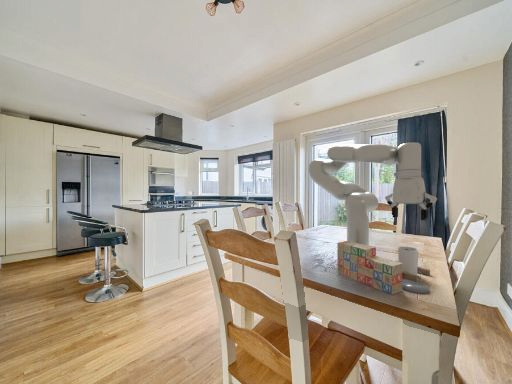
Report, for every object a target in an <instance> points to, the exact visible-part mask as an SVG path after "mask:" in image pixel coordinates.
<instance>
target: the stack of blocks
mask: <svg viewBox="0 0 512 384" xmlns="http://www.w3.org/2000/svg"><path fill="white" fill-rule="evenodd" d="M336 249H337V251H336V253H337V266H336V267H337V273H338V274H340V275H343V276H346V277H348V278H349V279H353V280H355V281H357V282H360V283H362V284H365V285H368V286H369V287H372V288H374V289H377V290H379V291H382V292H383V293H386V294H389V295H391V296H392V295H395V294H397V293H400V292H402V291H403V289H402V279H403V278H402V272H403V263H400V262H396V261H397V260H393V259H389V258H386V257H382V256H377V251H376V250H377V248H376V247H375V246H371V245H369V246H367V245H363V244H359V243H354V242H350V241H347V240H344V241H338V242H337V247H336Z"/></svg>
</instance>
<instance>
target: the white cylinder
mask: <svg viewBox="0 0 512 384" xmlns="http://www.w3.org/2000/svg"><path fill="white" fill-rule="evenodd" d="M419 251H420V250H419V249H418V248H415V247H412V246H411V247H410V246H406V245H405V246H404V245H403V246H398V247H397V253H398V255H397V256H398V261H399V262H400V263H403V272H406V273H409V274H413V275H416V276H418V272H417V267H419V266H418V265H419V264H418V263H419Z"/></svg>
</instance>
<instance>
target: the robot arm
mask: <svg viewBox="0 0 512 384" xmlns="http://www.w3.org/2000/svg"><path fill="white" fill-rule="evenodd" d="M326 152H327V153H326V154H327V158H329V159H325V158H316V159H313V160H312V161H310V162H309V164H308V173H309V176H310V178H311V180H312V181H313V182H314V183H315V184H317V186H319V187H320V188H322V189H323V190H324V191H325V192H327V193H329V194H330V195H331V196H332V197H333V198H335V199H337V200H338V201H339V200H340V201H344V208H345V213H346V241H350V242H354V243H359V244H363V245H367V246H370V221H369V220H370V219H369V216H368V213H369V212H374V211H375V210H377V208H378V207H379V198H378V197H377V196H376V194H374V193H373V192H371V191H369V190H368V189H366V188H365V187H363V186H361V185H360V184H358V183H355V182H352V181H342V180H340V178H337V177H336V176H334V174H336V173H337V172H339V171H340V170H341V169H342V168H344V167H345V166H346V165H347V164H348V163H352V164H353V163H356V164H358V163H360V162H361V163H374V164H382V165H383V164H384V165H397V171H396V172H394V173H393V176H394V177H397V178H395V179H394V182H393V187H392V188H393V189H392V193H391V194H388V195H386V196H385V197H384V199H385V202H386V203H387V204H388V205H389V206H390V208H391V215H392V218H398V217H399V207H398V206H399V205H400V204H402V205H403V204H404V205H419V206H420V207H421V209H420V221H426V220H427V219H428V218H429V214H428V213H429V209H430V208H431V207H433V206H434V205H435V203H436V202H437V200H438V198H437V197H436V196H433V195H431V194H429V193H427V192H426V185H425V180H424V177H422V144H421V143H419V142H414V141H413V142H405V143H402V144H400V145H399V146H392V145H388V144H381V143H379V144H377V143H376V144H375V143H371V144H370V143H366V144H333V145H332V146H330V147H329V148H328V150H327V151H326ZM391 199H392V200H391ZM427 199H429V200H430V201H428V203H426V200H427Z"/></svg>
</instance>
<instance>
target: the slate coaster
mask: <svg viewBox="0 0 512 384" xmlns="http://www.w3.org/2000/svg"><path fill="white" fill-rule="evenodd" d="M402 290H403V291H407V292H410V293H415V294H425V295H426V294H428V293H430V286H428V285H427V284H425V283H423V282H420V281H413V280H407V279H403V278H402Z"/></svg>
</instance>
